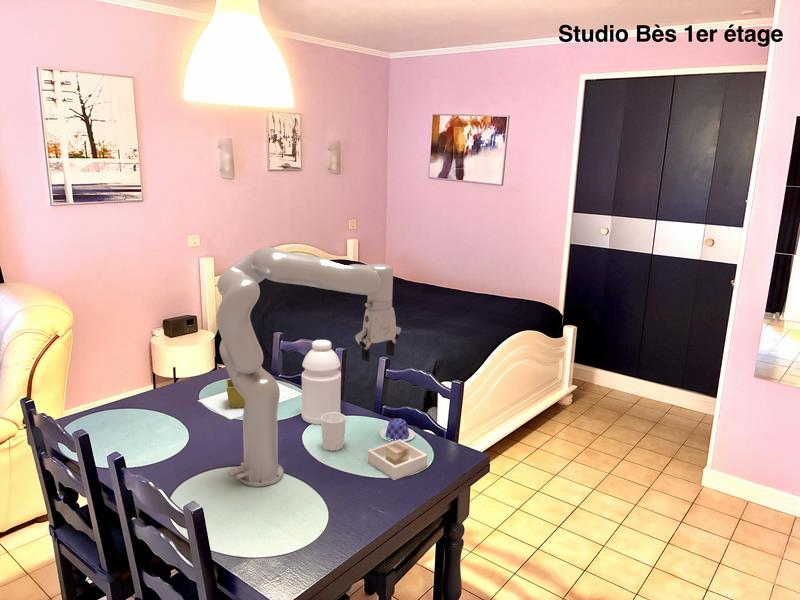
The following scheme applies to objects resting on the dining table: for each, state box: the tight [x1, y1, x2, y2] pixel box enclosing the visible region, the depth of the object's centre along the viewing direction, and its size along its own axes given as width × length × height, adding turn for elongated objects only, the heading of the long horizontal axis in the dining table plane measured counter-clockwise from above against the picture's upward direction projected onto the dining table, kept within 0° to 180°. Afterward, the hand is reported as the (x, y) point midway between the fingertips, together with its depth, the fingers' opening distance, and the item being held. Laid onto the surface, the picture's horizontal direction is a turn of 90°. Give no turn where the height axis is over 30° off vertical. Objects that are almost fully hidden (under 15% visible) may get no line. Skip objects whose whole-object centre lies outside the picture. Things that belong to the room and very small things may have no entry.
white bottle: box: [301, 339, 342, 425], centre depth 209 cm, size 14×14×28 cm
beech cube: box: [386, 442, 409, 465], centre depth 181 cm, size 5×5×5 cm
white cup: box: [320, 412, 347, 452], centre depth 190 cm, size 8×8×10 cm
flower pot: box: [225, 378, 245, 409], centre depth 219 cm, size 9×9×9 cm
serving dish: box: [366, 439, 429, 481], centre depth 181 cm, size 13×13×4 cm
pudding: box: [379, 418, 416, 442], centre depth 201 cm, size 12×12×5 cm
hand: (377, 357), depth 186 cm, fingers open, 9 cm apart
